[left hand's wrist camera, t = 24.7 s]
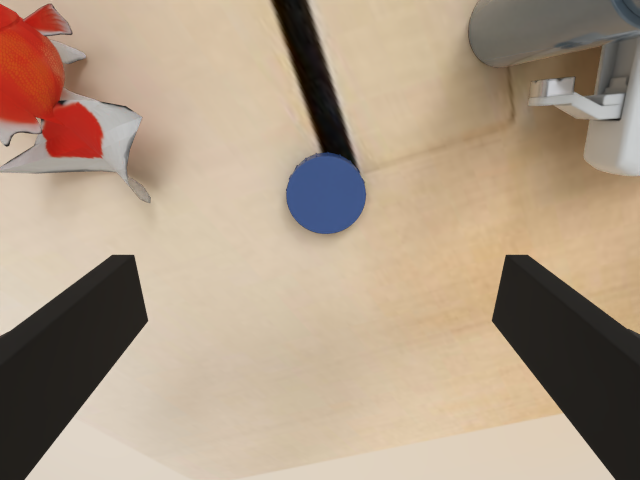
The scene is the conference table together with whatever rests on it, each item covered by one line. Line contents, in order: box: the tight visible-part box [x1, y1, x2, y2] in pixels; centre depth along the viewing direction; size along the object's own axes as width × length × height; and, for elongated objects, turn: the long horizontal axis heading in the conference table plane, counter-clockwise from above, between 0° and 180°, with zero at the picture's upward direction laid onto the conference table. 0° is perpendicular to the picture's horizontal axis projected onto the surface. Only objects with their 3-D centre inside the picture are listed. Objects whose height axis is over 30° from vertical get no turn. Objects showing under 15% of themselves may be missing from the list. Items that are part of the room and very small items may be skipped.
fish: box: [0, 4, 151, 203], centre depth 24 cm, size 11×16×10 cm
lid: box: [286, 152, 366, 234], centre depth 29 cm, size 6×6×2 cm
